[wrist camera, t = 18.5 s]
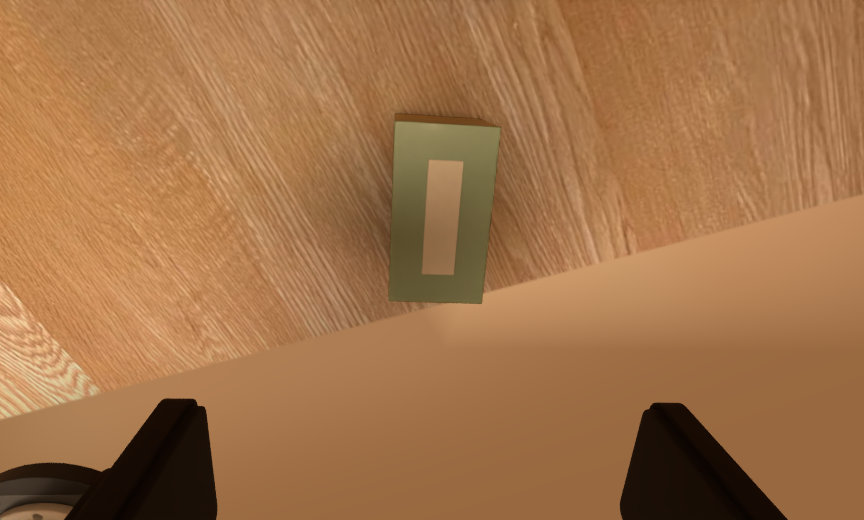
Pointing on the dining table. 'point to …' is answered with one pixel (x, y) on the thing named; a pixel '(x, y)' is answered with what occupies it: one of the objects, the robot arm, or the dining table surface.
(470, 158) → the tissue box
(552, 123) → the dining table surface
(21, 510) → the robot arm
